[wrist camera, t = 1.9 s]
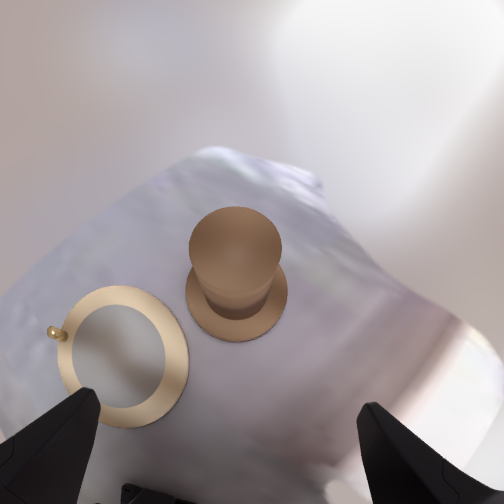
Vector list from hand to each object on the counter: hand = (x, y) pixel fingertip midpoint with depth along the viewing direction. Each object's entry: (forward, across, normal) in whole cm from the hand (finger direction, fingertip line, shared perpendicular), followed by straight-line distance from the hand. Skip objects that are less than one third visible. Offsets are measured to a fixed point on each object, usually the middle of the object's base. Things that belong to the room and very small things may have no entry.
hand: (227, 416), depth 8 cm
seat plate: (+11, +9, +8) cm, 17 cm away
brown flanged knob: (+15, 0, +4) cm, 16 cm away
